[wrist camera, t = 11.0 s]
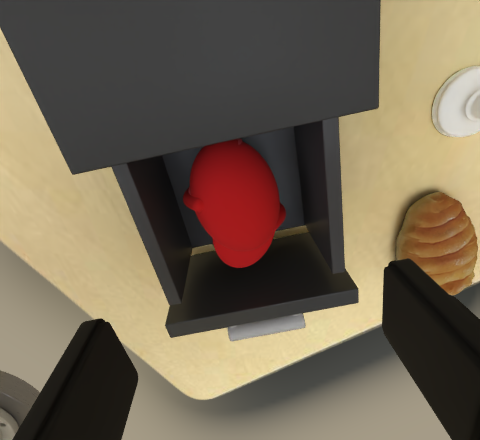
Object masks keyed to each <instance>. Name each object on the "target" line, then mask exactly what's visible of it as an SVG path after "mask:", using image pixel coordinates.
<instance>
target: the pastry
mask: <svg viewBox="0 0 480 440" xmlns="http://www.w3.org/2000/svg"><path fill="white" fill-rule="evenodd" d="M396 244H397V246H396V261H397V260H402V259H407V258H409V259H411V260H413V261H414V262H415V263H416V264H417V265H418V266H419V267H420V268H421V269H422V270H423V271H424V272H425V273H427V274H428V275H429V276H430V277H431V278H432V279H433V280H434V281H435V282H436V283H437V284H438V285H439V286H440V287H442V288H443V289H444V290H445V291H446V292H447V293H448V294H449V295H455V294H458V293H459V292H461V291H462V289H463V288H465V287H467V286H469V285H471V284H472V279H473V277H474V272H473V270H474V267H475V264H476V260H477V251H478V246H477V237H476V234H475V230H474V226H473V225H472V224H471V220H470V218H469V217H468V216H467V215H466V213H465V211H464V209H463V207H462V204H461V203H460V202H459V201H458V200H455V199H453V198H451V197H449V196H447V195H445V194H444V193H442V192H436V193H432V194H429V195H426V196H424V197H423V198H421V199H420V200H418V201H417V202H415V203H414V204H413V205H412V206H411V207H410V208H409V210H408V211H407V212H406V217H405V218H404V220H403V226H402V229H401V231H400V233H399V234H398V236H397V239H396Z"/></svg>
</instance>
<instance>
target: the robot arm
mask: <svg viewBox="0 0 480 440" xmlns="http://www.w3.org/2000/svg"><path fill="white" fill-rule="evenodd" d="M382 328H383V331H384V334H385V336H386V338H387V339H388V341H389V343H390V344H391V346H392V347H393V349H394V350H395V352H396V353H397V355H398V357H399V358H400V360H401V361H402V363H403V364H404V366H405V367H406V369H407V370H408V372H409V373H410V375H411V377H412V378H413V380H414V381H415V383H416V384H417V386H418V388H419V389H420V391H421V392H422V394H423V395H424V397H425V398H426V400H427V402H428V403H429V405H430V406H431V408H432V409H433V411H434V413H435V414H436V416H437V417H438V419H439V420H440V422H441V424H442V425H443V427H444V428H445V430H446V431H447V433H448V434H449V436H450V438H451V439H452V440H480V319H478V318H477V317H476V316H475V315H474V314H473V313H472V312H471V311H470V310H469V309H468V308H466V307H465V306H464V305H463V304H462V303H461V302H460V301H459V300H458V299H456V298H455V297H454V296H451V295H449V294H448V293H447V292H446V291H445V290H444V289H443V288H442V287H440V286H439V285H438V284H437V283H436V282H435V281H434V280H433V279H432V278H431V277H430V276H429V275H428V274H427V273H425V272H424V271H423V270H422V269H421V268H420V267H419V266H418V265H417V264H416V263H415V262H414V261H413V260H411V259H409V258H407V259H402V260H397V261H392V262H390V263H389V265H388V267H385V269H384V284H383V315H382ZM137 383H138V373H137V371H136V369H135V367H134V365H133V363H132V362H131V360H130V358H129V357H128V355H127V353H126V351H125V349H124V347H123V346H122V344H121V342H120V340H119V339H118V337H117V335H116V333H115V331H114V330H113V328H112V326H111V324H110V323H109V322H105V320H103V319H95V320H91V321H85V322H83V323H82V324H81V325H80V327H79V328H78V330H77V332H76V333H75V335H74V337H73V339H72V340H71V342H70V344H69V345H68V347H67V349H66V350H65V352H64V354H63V355H62V357H61V359H60V361H59V362H58V364H57V365H56V367H55V369H54V371H53V372H52V374H51V376H50V378H49V379H48V381H47V382H46V384H45V386H44V387H43V389H42V391H41V392H40V394H39V396H38V397H37V399H36V401H35V403H34V404H33V406H32V408H31V409H30V411H29V413H28V414H27V416H26V418H25V419H24V421H23V423H22V424H21V426H20V428H19V427H18V424H17V422H16V420H15V419H14V418H13V417H12V415H10V414H9V413H8V412H7V411H5V410H4V409H2V408H0V440H121V439H122V435H123V432H124V428H125V425H126V421H127V418H128V414H129V411H130V407H131V404H132V400H133V396H134V393H135V390H136V387H137Z"/></svg>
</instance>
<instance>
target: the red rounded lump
mask: <svg viewBox="0 0 480 440" xmlns="http://www.w3.org/2000/svg"><path fill="white" fill-rule="evenodd" d="M183 202H184V204H185V205H186V206H187V207H188V208H190V209H192V210H194V211H195V213H196V215H197V217H198V219H199V221H200V223H201V225H202V226H203V228H204V229H205V230H206V232H207V233H208V234H209V235H210V236H211V237H212V238H213V244H214V248H215V250H216V253H217V255H218V256H219V258H220V259H221V260H222V261H223V262H224V263H226V264H227V265H229V266H231V267H235V268H243V267H247V266H250V265H252V264H254V263H255V262H257V261H258V260H259V259H260V258H261V257H262V256H263V255H264V254H265V253H266V251H267V250H268V248H269V246H270V245H271V242H272V240H273V237H274V234H275V230H276V229H278V227H279V226H280V225H281V224H282V223H283V221H284V219H285V217H286V210H285V208H284V206H283V205H282V204H281V203H280V198H279V191H278V187H277V183H276V180H275V178H274V175H273V173H272V171H271V169H270V167H269V165H268V164H267V162H266V161H265V160H264V158H263V157H262V156H261V155H260V154H259V153H258V152H257V151H256V150H255V149H254V148H253V147H251V146H250V145H248V144H247V143H245V142H243V141H242V139H241V138H240V139H235V140H230V141H226V142H221V143H217V144H212V145H207V146H204V147H203V148H202V149H201V150H200V151H199V153H198V154H197V156H196V158H195V160H194V162H193V165H192V169H191V173H190V186H189V188H188V189H187V190H186V191H185V193H184V195H183Z"/></svg>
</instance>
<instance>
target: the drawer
mask: <svg viewBox="0 0 480 440" xmlns="http://www.w3.org/2000/svg"><path fill="white" fill-rule="evenodd" d="M241 139H242V141H243V142H245V143H247V144H248V145H250V146H251V147H253V148H254V149H255V150H256V151H257V152H258V153H259V154H260V155H261V156H262V157H263V158H264V160H265V161H266V162H267V164H268V165H269V167H270V169H271V171H272V173H273V175H274V178H275V180H276V183H277V187H278V191H279V198H280V203H281V204H282V205H283V206H284V208H285V210H286V217H285V219H284V221H283V223H282V224H281V225H280V226H279V227H278V229H276V230H275V231H278V230H283V229H288V228H293V227H298V226H303V225H305V226H306V228H307V229H308V231H309V232H306V233H301V234H296V235H291V236H286V237H281V238H276V239H273V240H272V242H271V245H270V246H269V248H268V250H267V251H266V253H265V254H264V255H263V256H262V257H261V258H260V259H259V260H258V261H257V262H255V263H254V264H252V265H250V266H247V267H243V268H235V267H231V266H229V265H227V264H226V263H224V262H223V261H222V260H221V259H220V258H219V256H218V255H217V253H216V251H211V252H206V253H201V254H196V255H191V252H192V248H194V247H199V246H204V245H209V244H213V238H212V237H211V236H210V235H209V234H208V233H207V232H206V230H205V229H204V228H203V226H202V225H201V223H200V221H199V219H198V217H197V215H196V213H195V211H194V210H192V209H190V208H188V207H187V206H186V205H185V204H184V202H183V195H184V193H185V191H186V190H187V189H188V188H189V186H190V173H191V169H192V165H193V162H194V160H195V158H196V156H197V154H198V153H199V151H200V150H201V149H202V148H203V147H204V146H203V147H198V148H194V149H189V150H184V151H180V152H175V153H171V154H166V155H161V156H157V157H152V158H148V159H143V160H139V161H134V162H129V163H125V164H120V165H116V166H111V167H112V169H113V172H114V174H115V176H116V179H117V181H118V183H119V186H120V188H121V191H122V193H123V195H124V198H125V200H126V203H127V205H128V207H129V210H130V212H131V215H132V217H133V219H134V222H135V224H136V226H137V229H138V231H139V234H140V236H141V238H142V241H143V243H144V246H145V248H146V250H147V253H148V255H149V258H150V260H151V262H152V265H153V267H154V269H155V272H156V274H157V277H158V279H159V281H160V284H161V286H162V289H163V291H164V293H165V296H166V298H167V301H168V303H169V305H170V307H169V312H168V316H167V320H166V324H165V326H166V329H167V331H168V333H169V335H170V337H171V338H173V337H178V336H183V335H189V334H194V333H199V332H205V331H210V330H215V329H221V328H226V327H228V335H229V339H230V341H236V340H242V339H247V338H252V337H258V336H263V335H269V334H274V333H280V332H285V331H290V330H296V329H301V328H305V320H304V316H303V313H306V312H312V311H317V310H322V309H328V308H333V307H338V306H344V305H349V304H354V303H358V288H357V286H356V285H355V283H354V281H353V280H352V278H351V277H350V275H349V274H348V272H347V271H346V269H345V260H344V236H343V213H342V190H341V166H340V143H339V119H338V117H336V118H331V119H327V120H322V121H318V122H313V123H308V124H304V125H299V126H295V127H290V128H285V129H281V130H276V131H272V132H267V133H263V134H258V135H253V136H249V137H244V138H241Z"/></svg>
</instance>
